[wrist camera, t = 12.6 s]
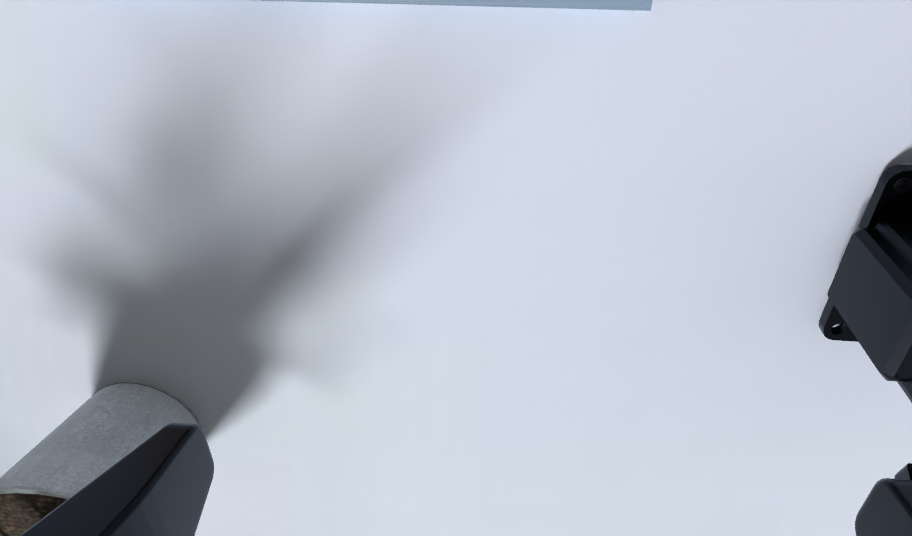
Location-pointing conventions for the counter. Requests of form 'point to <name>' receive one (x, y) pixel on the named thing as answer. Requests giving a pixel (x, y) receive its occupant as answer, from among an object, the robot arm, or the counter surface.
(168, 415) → the house plant
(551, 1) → the board
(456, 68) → the counter surface
